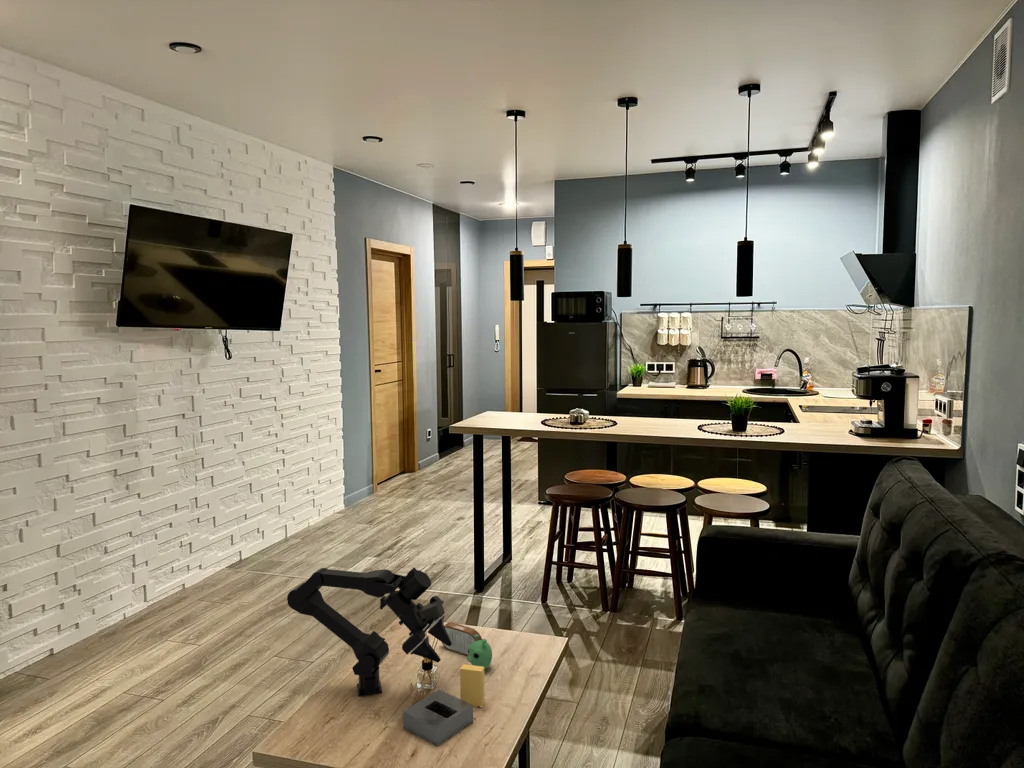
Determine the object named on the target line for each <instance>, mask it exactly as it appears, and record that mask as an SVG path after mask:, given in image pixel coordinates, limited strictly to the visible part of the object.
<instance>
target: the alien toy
mask: <svg viewBox="0 0 1024 768" xmlns="http://www.w3.org/2000/svg"><path fill="white" fill-rule="evenodd" d="M478 637H479V635H477V634H476V635H474V638H476V641H475V642H474V643H473V644H472V645H469V649H468V653H469V654H468V656H467V658H466V660H467V662H469V663H470V665H474V666H482V667H484V670H486V669H488V668H489V666H490V665H491V663H492V659H493V651H492V647H491V645H490V644H489V642H487V641H488V640H487V639H486V638H482V640H478Z"/></svg>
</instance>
